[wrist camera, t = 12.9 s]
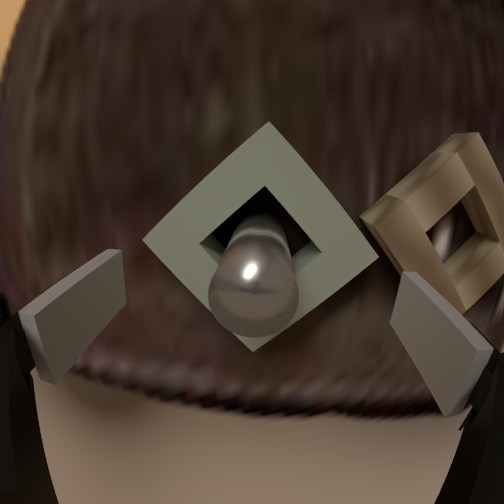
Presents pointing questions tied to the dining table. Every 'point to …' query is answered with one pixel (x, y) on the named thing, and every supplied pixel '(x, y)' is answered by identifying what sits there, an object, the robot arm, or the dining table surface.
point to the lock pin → (255, 279)
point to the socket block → (292, 199)
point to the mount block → (434, 208)
